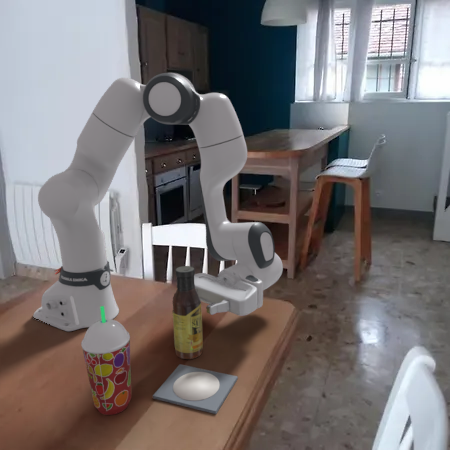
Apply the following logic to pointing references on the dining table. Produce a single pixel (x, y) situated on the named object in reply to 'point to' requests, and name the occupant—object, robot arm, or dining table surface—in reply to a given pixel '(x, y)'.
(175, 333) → the sauce bottle
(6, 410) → the dining table surface
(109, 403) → the smoothie
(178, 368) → the card
